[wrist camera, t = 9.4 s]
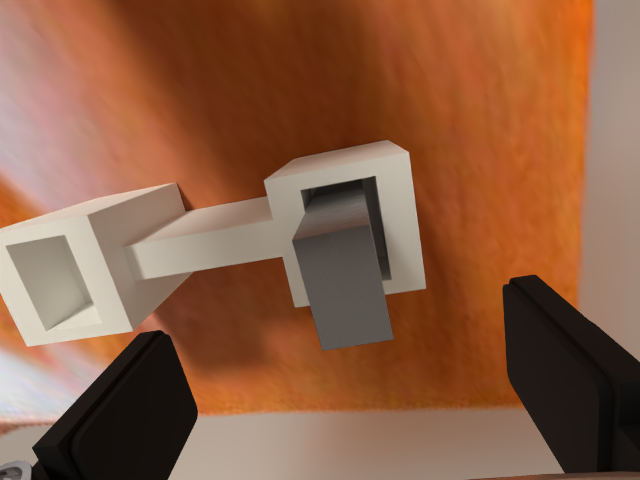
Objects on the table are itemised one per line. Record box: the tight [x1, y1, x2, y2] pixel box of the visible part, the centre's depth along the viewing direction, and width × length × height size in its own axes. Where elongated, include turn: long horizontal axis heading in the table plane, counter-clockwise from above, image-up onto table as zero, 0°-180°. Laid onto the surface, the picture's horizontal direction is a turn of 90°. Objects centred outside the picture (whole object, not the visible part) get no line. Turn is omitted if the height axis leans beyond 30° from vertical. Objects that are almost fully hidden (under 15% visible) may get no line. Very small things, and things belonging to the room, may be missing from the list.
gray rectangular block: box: [292, 179, 394, 351], centre depth 20 cm, size 5×3×11 cm, turn 14°
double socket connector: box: [0, 140, 426, 347], centre depth 28 cm, size 8×27×12 cm, turn 101°
